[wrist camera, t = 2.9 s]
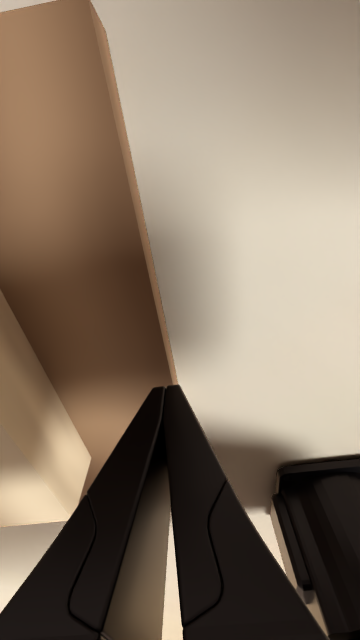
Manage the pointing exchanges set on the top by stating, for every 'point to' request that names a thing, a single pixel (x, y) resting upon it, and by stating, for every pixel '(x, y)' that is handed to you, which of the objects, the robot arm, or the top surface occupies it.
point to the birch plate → (34, 437)
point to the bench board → (76, 224)
